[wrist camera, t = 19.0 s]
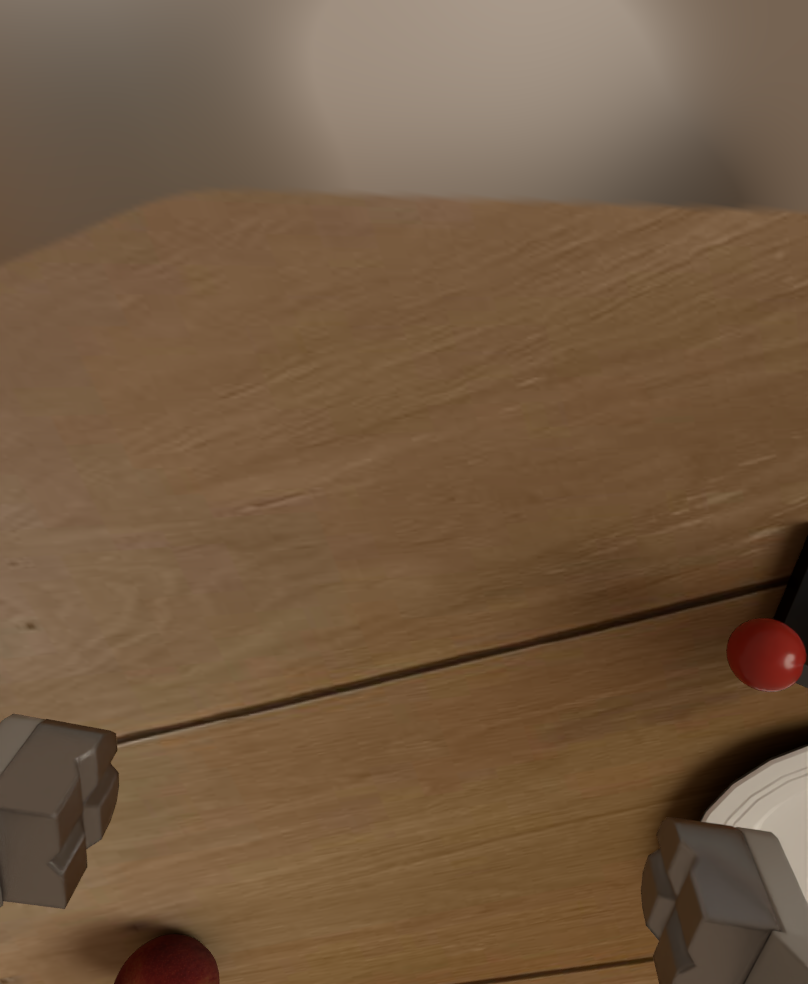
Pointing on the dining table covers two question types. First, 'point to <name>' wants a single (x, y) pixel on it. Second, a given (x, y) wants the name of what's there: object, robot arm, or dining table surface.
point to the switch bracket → (796, 599)
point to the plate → (772, 806)
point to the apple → (170, 963)
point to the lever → (767, 655)
